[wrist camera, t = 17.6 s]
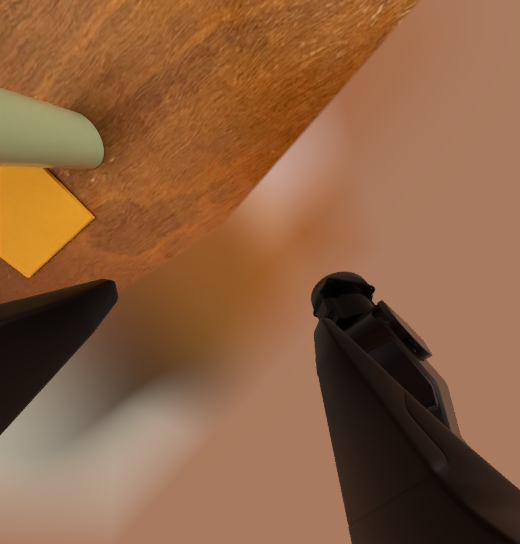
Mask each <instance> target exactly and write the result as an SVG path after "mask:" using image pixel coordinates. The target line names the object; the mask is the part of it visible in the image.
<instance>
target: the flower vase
mask: <svg viewBox="0 0 520 544" xmlns="http://www.w3.org/2000/svg"><path fill="white" fill-rule="evenodd" d="M103 157H104V146H103V142H102V139H101V137H100V135H99V133H98V131H97V129H96V128H95V127H94V125H93V124H92V123H91V122H90V121H89V120H88V119H87V118H86V117H84V116H83V115H81V114H80V113H78V112H76V111H73V110H69V109H66V108H63V107H60V106H57V105H54V104H51V103H48V102H45V101H42V100H39V99H36V98H32V97H29V96H26V95H23V94H20V93H17V92H14V91H11V90H8V89H5V88H2V87H0V167H30V168H62V169H94V168H96V167H98V166H99V165H100V164H101V162H102V160H103Z"/></svg>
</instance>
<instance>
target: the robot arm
mask: <svg viewBox="0 0 520 544" xmlns="http://www.w3.org/2000/svg"><path fill="white" fill-rule="evenodd" d="M329 281H331V282H329ZM371 288H372V289H371ZM369 289H371V290H369ZM374 291H375V287H373V286H372V285H368V284H363V283H358V282H352V281H347V280H342V279H337V278H331V277H329V278H327V279H326V282H325V284H324V286H323V289H322V291H320V292H319V295H318V297H317V300H316V302H315V305H314V307H315V309H314V311H313V315H314V317H317V318H318V319H319V322H318V325H317V327H316V329H315V332H314V341H315V352H316V365H317V375H318V377H319V382H320V387H321V392H322V397H323V402H324V407H325V412H326V417H327V422H328V426H329V432H330V437H331V442H332V446H333V452H334V457H335V462H336V467H337V472H338V477H339V482H340V487H341V492H342V497H343V502H344V506H345V512H346V517H347V522H348V525H349V532H350V537H351V542H352V544H520V490H519V489H518V488H517V487H516V486H515V485H513V484H512V483H511V482H510V481H509V480H508V479H506V478H505V477H504V476H503V475H502V474H501V473H499V472H498V471H497V470H496V469H495V468H494V467H492V466H491V465H490V464H489V463H488V462H487V461H485V460H484V459H483V458H482V457H481V456H480V455H478V454H477V453H476V452H475V451H474V450H472V449H471V448H470V447H469V446H468V445H467V444H466V442H465V441H464V440H463V438H462V437H461V435H460V431H459V428H458V424H457V420H456V417H455V412H454V408H453V405H452V401H451V397H450V393H449V389H448V386H447V384H446V382H445V381H444V380H443V378H442V377H441V376H440V375H439V374H438V373H437V371H436V370H435V369H434V368H433V367H432V366H431V365H430V363H429V362H428V361H427V360H426V359H427V358H429V357H431V356H432V354H431V352H430V350H429V349H428V347H427V346H426V344H425V342H424V341H423V340H422V339H421V338H420V337H419V336H418V335H417V334H416V332H414V330H413V329H412V328H411V327H410V326H409V325H408V324H407V323H406V322H405V321H404V320H403V319H402V318H400V317H399V316H398V315H397V314H396V313H395V312H394V311H393V310H392V309H391V308H390V307H389V306H388V305H387V304H386V303H384V302H383V301H380V302H378V304H377V305H375V304H374V302H373V301H372V300H371V297H372V295H373V293H374ZM117 300H118V294H117V289H116V284H115V282H114V281H112V280H107V279H100V280H96V281H92V282H87V283H83V284H79V285H75V286H71V287H67V288H63V289H59V290H55V291H51V292H47V293H43V294H39V295H35V296H31V297H27V298H23V299H19V300H15V301H11V302H7V303H3V304H0V435H1V434H2V433H3V432H4V430H5V429H6V428H7V427H8V426H9V425H10V424H11V423H12V421H14V419H15V418H16V417H17V416H18V415H19V414H20V413H21V412H22V411H23V410H24V409H25V407H26V406H27V405H28V404H29V403H30V402H31V401H32V400H33V399H34V397H35V396H36V395H37V394H38V393H39V392H40V391H41V390H42V389H43V388H44V387H45V385H46V384H47V383H48V382H49V381H50V380H51V379H52V378H53V377H54V376H55V374H56V373H57V372H58V371H59V370H60V369H61V368H62V367H63V366H64V365H65V363H66V362H67V361H68V360H69V359H70V358H71V357H72V356H73V354H74V353H75V352H76V351H77V350H78V349H79V348H80V347H81V346H82V345H83V344H84V342H85V341H86V340H87V339H88V338H89V337H90V336H91V335H92V333H93V332H94V331H95V330H96V329H97V327H98V326H99V325H100V323H101V322H102V320H103V319H104V318H105V317H106V315H107V314H108V313H109V311H110V310H111V309H112V307H113V306H114V305H115V303H116V302H117ZM316 313H317V314H316Z"/></svg>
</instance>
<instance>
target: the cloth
mask: <svg viewBox="0 0 520 544" xmlns="http://www.w3.org/2000/svg"><path fill="white" fill-rule="evenodd" d="M94 218H95V217H94V216H93V215H92V214H91V213H90V212H89V211H88V210H87V209H86V208H85V207H84V206H83V205H82V204H81V203H80V202H79V201H78V200H77V199H76V197H75V196H74V195H73V194H72V193H71V192H70V191H69V190H68V189H67V188H66V187H65V186H64V185H63V184H62V183H61V182H60V181H59V180H58V179H57V178H56V177H55V176H54V175H53V174H52V173H51V172H50V171H49V170H48V169H47V168H30V167H0V257H1V258H2V259H4V260H5V261H6V262H8V263H9V264H10V265H12V266H13V267H14V268H16V269H17V270H18V271H19V272H21V273H22V274H23V275H25V276H26V277H27V278H29V277H31V276H32V275H34V274H35V273H36V272H37V271H38V270H39V269H40V268H41V267H42V266H43V265H44V264H46V263H47V262H48V261H49V260H50V259H51V258H52V257H53V256H54V255H55V254H56V253H57V252H59V251H60V250H61V249H62V248H63V247H64V246H65V245H66V244H67V243H68V242H69V241H71V240H72V239H73V238H74V237H75V236H76V235H77V234H78V233H79V232H80V231H81V230H82V229H84V228H85V227H86V226H87V225H88V224H89V223H90V222H91V221H92V220H93V219H94Z"/></svg>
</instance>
